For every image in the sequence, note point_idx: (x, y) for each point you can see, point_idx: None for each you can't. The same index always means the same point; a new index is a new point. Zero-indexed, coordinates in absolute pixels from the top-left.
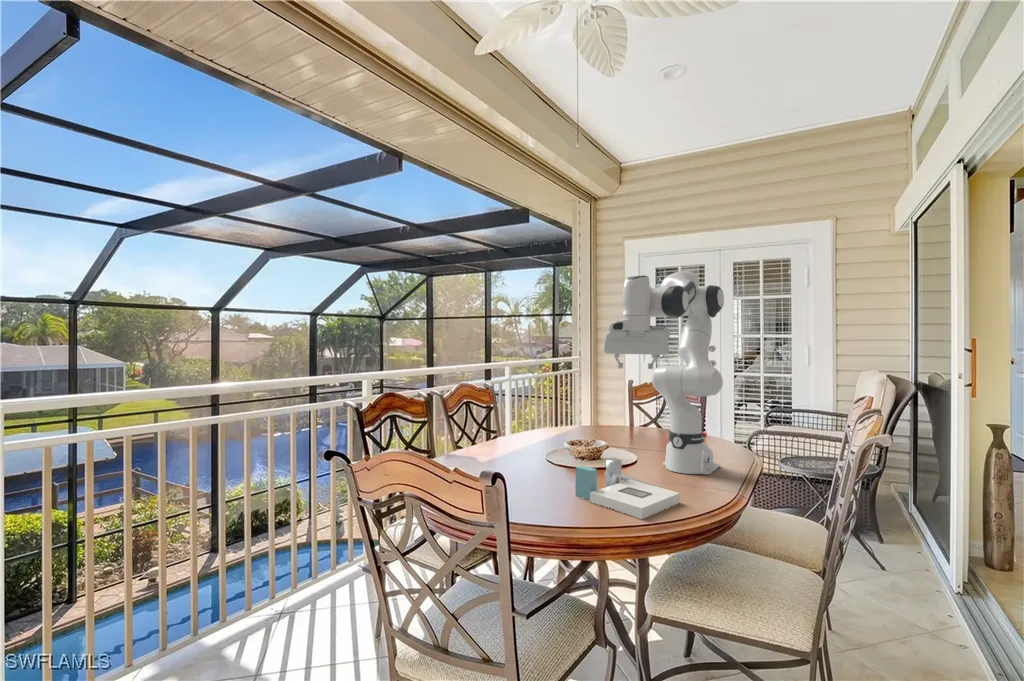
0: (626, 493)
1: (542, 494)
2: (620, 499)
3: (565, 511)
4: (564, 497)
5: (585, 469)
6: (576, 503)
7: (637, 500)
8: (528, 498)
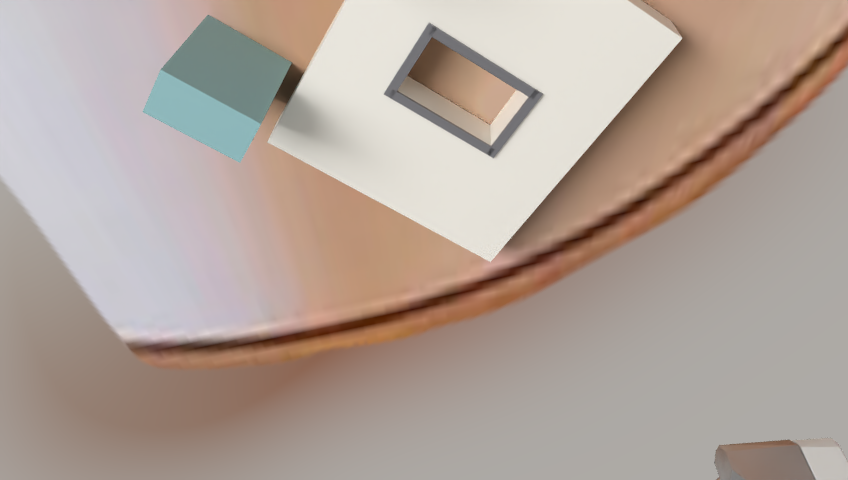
0: (425, 117)
1: (50, 78)
2: (406, 194)
3: (220, 232)
4: None
5: (207, 143)
6: None
7: (475, 188)
8: (27, 142)
